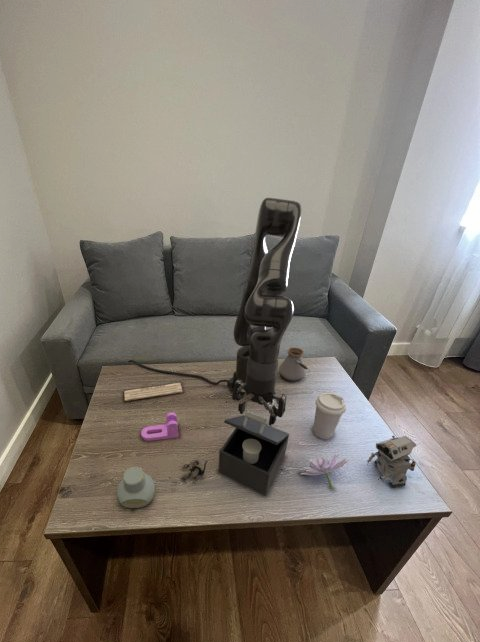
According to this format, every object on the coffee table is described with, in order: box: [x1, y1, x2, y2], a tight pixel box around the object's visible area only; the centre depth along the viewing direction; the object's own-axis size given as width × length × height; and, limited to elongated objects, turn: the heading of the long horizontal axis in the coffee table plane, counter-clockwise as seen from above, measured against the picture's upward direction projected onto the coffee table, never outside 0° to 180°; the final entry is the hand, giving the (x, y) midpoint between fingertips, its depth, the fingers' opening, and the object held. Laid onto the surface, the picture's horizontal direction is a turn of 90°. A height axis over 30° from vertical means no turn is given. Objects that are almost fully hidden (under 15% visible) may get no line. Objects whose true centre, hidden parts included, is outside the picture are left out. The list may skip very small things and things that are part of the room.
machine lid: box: [223, 410, 290, 445], centre depth 94 cm, size 17×16×5 cm
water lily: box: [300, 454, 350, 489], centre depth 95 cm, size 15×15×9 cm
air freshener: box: [116, 466, 156, 509], centre depth 91 cm, size 11×8×10 cm
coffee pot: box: [278, 347, 310, 382], centre depth 132 cm, size 21×12×15 cm, turn 179°
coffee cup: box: [312, 391, 347, 440], centre depth 109 cm, size 10×10×15 cm
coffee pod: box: [242, 439, 262, 464], centre depth 96 cm, size 6×6×5 cm
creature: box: [182, 460, 208, 481], centre depth 98 cm, size 8×5×8 cm
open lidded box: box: [218, 427, 290, 497], centre depth 99 cm, size 17×16×10 cm
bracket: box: [140, 411, 180, 442], centre depth 112 cm, size 13×6×7 cm, turn 98°
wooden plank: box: [123, 382, 184, 402], centre depth 133 cm, size 24×7×2 cm, turn 102°
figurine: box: [366, 435, 417, 489], centre depth 93 cm, size 9×12×15 cm
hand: (256, 417), depth 89 cm, fingers open, 8 cm apart
